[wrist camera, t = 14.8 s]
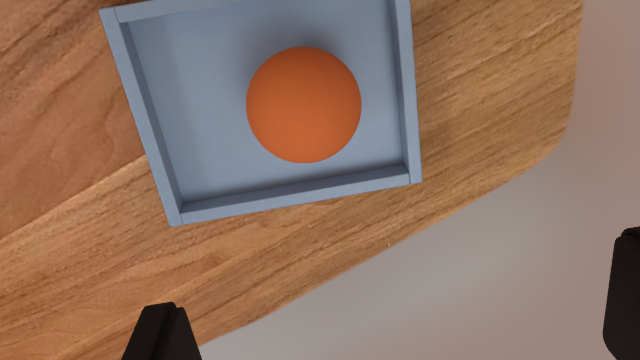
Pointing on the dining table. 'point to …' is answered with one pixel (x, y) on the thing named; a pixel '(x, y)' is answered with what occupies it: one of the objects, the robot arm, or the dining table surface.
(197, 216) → the tray
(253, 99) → the ball
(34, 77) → the dining table surface
